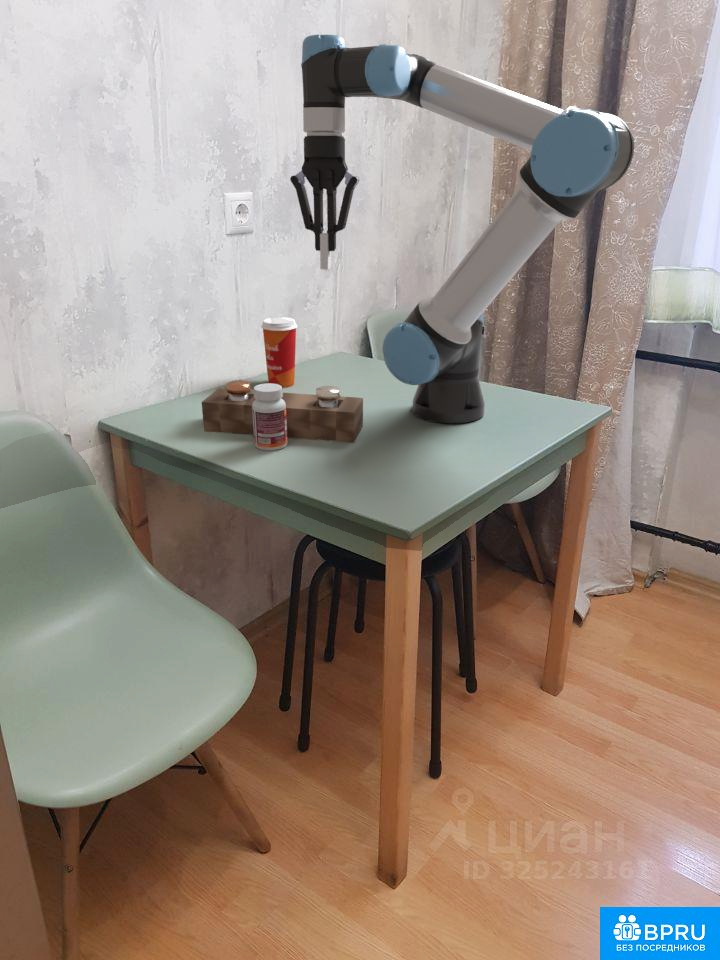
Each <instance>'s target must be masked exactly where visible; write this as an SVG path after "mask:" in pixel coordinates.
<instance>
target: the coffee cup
mask: <svg viewBox="0 0 720 960" xmlns="http://www.w3.org/2000/svg"><path fill="white" fill-rule="evenodd" d="M260 327H261V329H262V333H263V341H264V342H263V343H264V351H265V352H264V353H265V363H266V370H267V380H268V383H272V384H278V385H281V386H282V389H283V388H284V389H285V388H289V387H290V388H291V387H292V386H294V385H295V378H296V377H295V375H296V373H295V372H296V346H297V345H296V342H297V339H296V338H297V337H296V336H297V328H298V324H297V323H296V319H294V318H292V317H286V316H285V317H284V316H280V317H271V318H270V317H267V318H265V319H263V321H262V324H261V326H260Z"/></svg>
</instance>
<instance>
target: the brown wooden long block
mask: <svg viewBox="0 0 720 960" xmlns="http://www.w3.org/2000/svg"><path fill="white" fill-rule="evenodd" d="M282 393H283V397H282V398H281V399H283V400H284V401H285V403H286V419H287V439H288V438H290V439H300V440H301V439H302V440H315V441H329V442H342V443H351V444H352V443H355V442H356V440H357V438H358V437H359V435H360V433H361V430H362V429H363V427H364V397H354V396H341V395H340V398H339V399H338V408H331V407H319V399H317V398H316V394H312V393H311V394H310V393H309V394H308V393H297V392H296V393H295V392H294V393H293V392H282ZM255 400H256V399H255V398H254V390H251V391H250V392H249V393H248V401H247V402H244V401H230V394H229V393H227V388H219V387H218V388H217V389H216V390H214V391H213V392H212V393H210V394H209V395H208V396H207V397H206V398H205V399H203V400H202V401H201V411H202V413H201V414H202V422H203V431H204V432H211V433H222V434H223V433H224V434H236V435H248V436H249V435H251V436H254V429H253V413H252V404H253V402H254V401H255Z"/></svg>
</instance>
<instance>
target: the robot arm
mask: <svg viewBox="0 0 720 960" xmlns="http://www.w3.org/2000/svg"><path fill="white" fill-rule="evenodd" d="M301 51H302V53H301V55H302V56H301V64H300V67H301V77H302V93H303V94H302V95H303V104H302V106H303V108H302V114H303V116H302V117H303V119H302V120H303V121H302V122H303V126H302V127H303V132H304V133H306V135H305V136H304V138H303V164H302V166H301V171H299V172H298V173H296V174H295V175H292V176H290V178H289V179H290V183H291V184H292V185H293V187H294V188H295V191H296V195H297V199H298V203H299V207H300V208H299V209H300V212H301V216H302V219H303V225H304V227H305V229H306V230H309V231H311V232H312V233H314V249H315V251H317V252H318V251H319V253H320V254H319V256H320V261H319V262H320V265H319V266H320V270H330V269H331V268H332V252H335V251H336V249H337V233H338V232H340V231H343V230H344V229H346V227H347V222H348V217H349V213H350V210H351V209H350V208H351V204H352V199H353V195H354V192H355V188H356V187H357V186H358V184H359V182H360V177H359V176H355V175H354V174H353V173H351V172H350V171H349V170H348V165H347V164H346V163H347V162H346V138H345V137H344V136H343V135H342V134H343V133H345V132H346V98H379V99H380V98H382V99H390V100H399V101H402V102H406V103H409V104H411V105H413V106H416V107H419V108H422V109H425V110H427V111H430V112H432V113H435V114H436V115H439V116H442V117H444V118H448V119H450V120H452V121H455V122H456V123H457V122H458V123H460V124H463V125H465V126H467V127H469V128H471V129H475V130H477V131H480V132H482V133H485V134H487V135H490V136H492V137H495V138H497V139H499V140H502V141H505V142H507V143H510V144H512V145H515V146H517V147H520V148H522V149H524V150H527V151H529V152H530V156H529V158H528V159H527V160H526V162H524V164H523V165H522V167H521V168H520V170H519V171H518V184H519V185H518V188H517V189H516V190H515V191H514V192H513V194H512V195H511V197H510V198H509V200H508V201H507V202H506V204H505V205H504V206H503V207H502V208H501V210H500V211H499V212H498V213H497V215H496V216H495V217H494V219H493V220H492V221H491V223H490V224H489V225H488V226H487V228H486V229H485V231H483V233H481V235H480V237H478V239H477V241H476V242H475V243H474V245H472V247H471V248H470V250H469V251H468V252H467V253H466V254H465V256H464V257H463V259H462V260H461V261H460V263H459V264H458V265H457V267H456V268H455V269H454V270H453V271H452V273H451V274H450V275H449V277H448V278H446V281H444V283H443V285H442V286H441V287H440V288H439V290H438V291H437V292H436V294H435V295H434V296H426V297H423V298H421V299H420V300H419V302H418V303H417V305H415V307H414V309H412V311H411V312H410V313H409V314H408V315H407V317H406V318H405V320H403V322H399V323H397V324H395V325H394V326H393V327H392V328H391V329H389V331H388V332H387V333H386V335H385V337H384V338H383V342H382V353H383V361H384V364H385V365H386V368H387V369H388V371H389V372H390V374H391V375H392V376H393V377H394V378H395V379H396V380H398V381H400V382H401V383H403V384H407V385H408V386H409V385H411V386H416V387H417V388H416V390H415V393H414V396H413V399H412V403H411V404H412V405H411V406H412V407H411V411H412V414H414V416H416V417H418V418H420V419H423V420H425V421H431V422H435V423H440V424H441V423H442V424H463V423H464V424H465V423H470V422H473V421H477V420H480V419H481V418H482V417H484V415H485V406H486V405H485V399H484V395H483V391H482V388H481V384H480V380H479V374H480V373H479V372H480V362H481V347H482V339H483V338H482V337H483V325H484V320H483V319H484V312H485V310H487V308H488V307H489V306H490V305H491V304H492V302H493V301H495V299H496V297H497V296H498V295H499V294H500V293H501V292H502V290H503V289H504V288H506V286H507V284H508V283H509V282H510V281H511V280H512V279H513V277H514V276H515V275H516V274H517V273H518V272H519V270H520V269H521V268H522V267H523V266H524V264H525V263H526V262H527V261H528V260H529V259H530V258H531V256H532V255H533V254H534V252H535V251H536V250H537V249H538V248H539V247H540V246H541V245H542V243H543V242H544V241H545V240H546V239H547V237H548V236H549V235H550V233H552V231H554V229H555V227H556V226H558V224H559V223H560V222H563V221H572V220H575V219H576V218H577V216H578V215H579V214H580V213H581V212H582V211H583V209H584V208H585V207H586V206H587V205H588V203H590V202H591V200H592V199H593V198H594V197H595V195H597V193H598V192H599V191H602V190H606V189H608V188H610V187H612V186H614V185H615V184H617V183H618V182H619V181H620V180H621V179H622V178H624V176H625V175H626V173H627V172H628V170H629V168H630V166H631V164H632V161H633V158H634V152H635V141H634V135H633V133H632V131H631V129H630V127H629V126H628V125H627V123H626V122H625V121H623V119H622V118H620V117H619V116H616V115H614V114H612V113H607V112H600V111H598V110H595V109H589V108H579V107H576V106H572V105H571V106H569V107H567V108H564V109H561V108H558V107H557V106H553V105H550V104H548V103H545V102H542V101H540V100H537V99H535V98H532V97H529V96H526V95H523V94H520V93H518V92H515V91H513V90H510V89H507V88H505V87H502V86H499V85H497V84H493V83H491V82H488V81H486V80H483V79H480V78H477V77H475V76H472V75H469V74H467V73H464V72H461V71H458V70H456V69H453V68H450V67H448V66H446V65H443V64H440V63H439V64H438V63H436V62H434V61H432V60H430V59H428V58H426V57H425V56H422V55H418V54H416V53H412V54H411V53H407V52H406V50H405V48H404V47H403V46H401V45H398V44H396V45H393V44H391V45H390V44H384V43H383V44H379V45H373V46H372V45H371V46H361V47H360V46H359V47H346V41H345V39H344V38H343V37H342V36H340V35H337V34H336V35H335V34H312V35H308V36H305V38H304V39H303V41H302V50H301ZM344 179H345V180H344ZM306 180H307V182H308V183H309V185H310V186H311V187H312V194H313V214H312V211H311V206H310V201H309V197H308V193H307V189H306V186H305V184H306ZM343 180H344V184H345V186H346V187H345V189H344V192H343V198H342V202H341V207H340V211H339V213H338V214H339V215H338V219H337V193H338V191H337V190H338V187H339V186H340V184H341V183H342V182H343ZM324 190H325V191H326V207H327V208H326V211H327V212H326V215H327V221H326V222H327V230H326V232H324V231H325V228H324Z"/></svg>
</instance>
